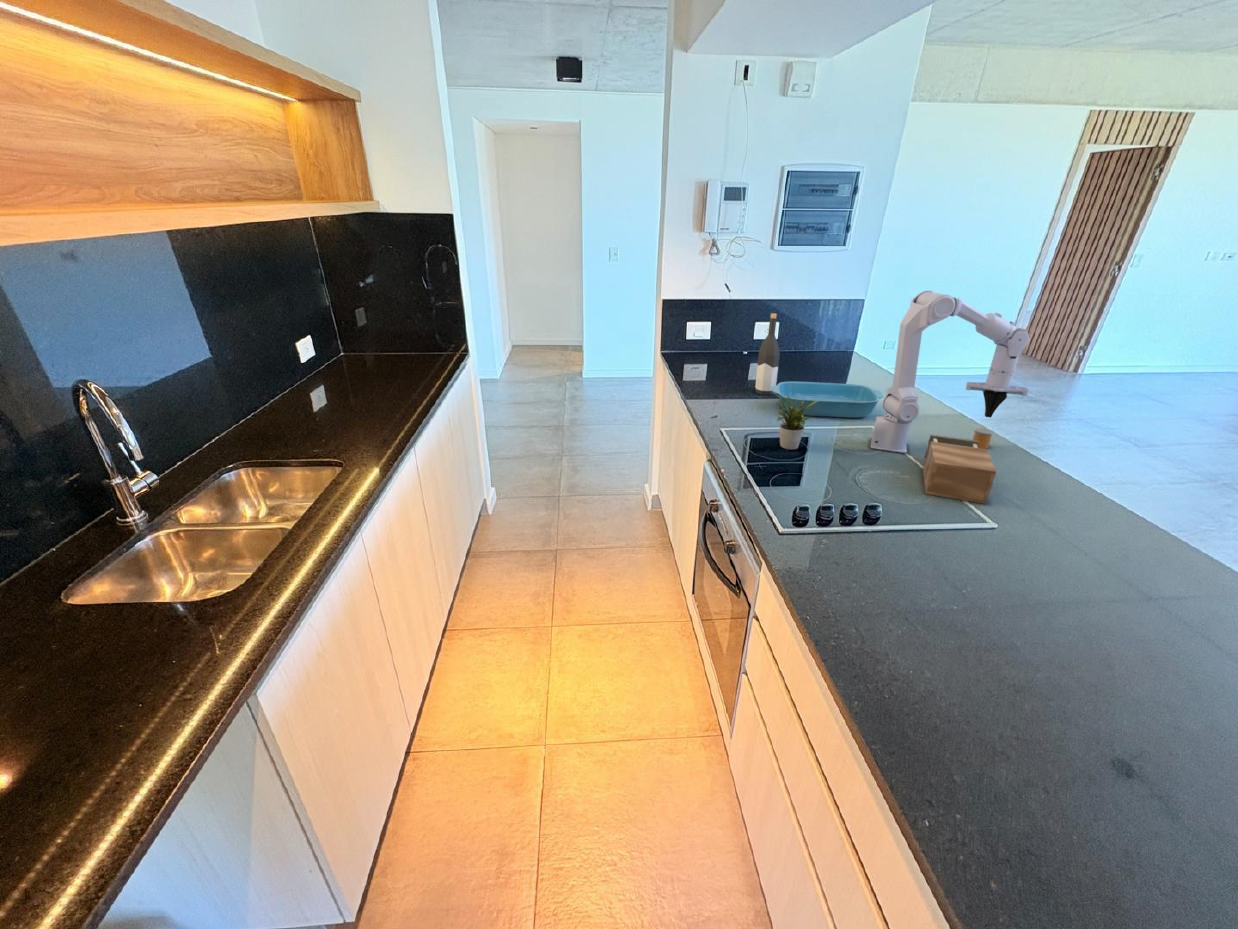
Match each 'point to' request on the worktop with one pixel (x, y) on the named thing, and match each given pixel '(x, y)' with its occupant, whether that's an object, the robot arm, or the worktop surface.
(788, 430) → the house plant
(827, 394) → the casserole dish
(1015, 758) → the worktop surface
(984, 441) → the jar
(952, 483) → the wooden box
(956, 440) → the drawer
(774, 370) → the wine bottle
